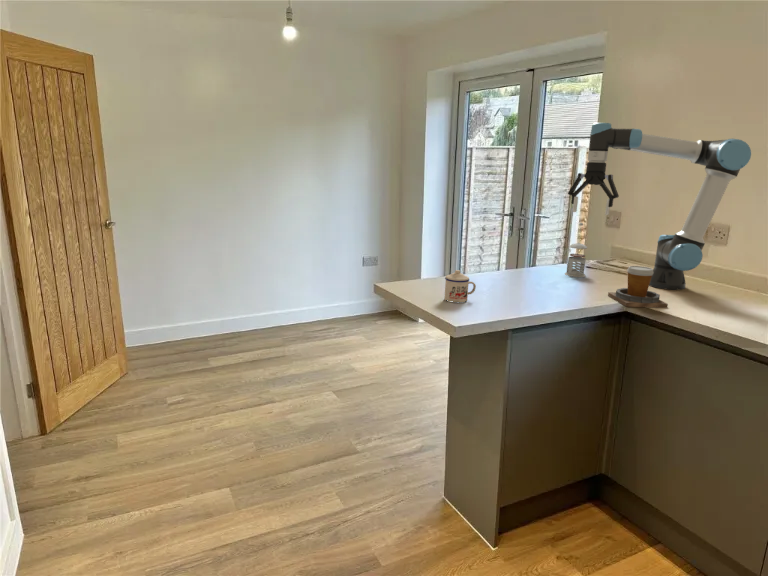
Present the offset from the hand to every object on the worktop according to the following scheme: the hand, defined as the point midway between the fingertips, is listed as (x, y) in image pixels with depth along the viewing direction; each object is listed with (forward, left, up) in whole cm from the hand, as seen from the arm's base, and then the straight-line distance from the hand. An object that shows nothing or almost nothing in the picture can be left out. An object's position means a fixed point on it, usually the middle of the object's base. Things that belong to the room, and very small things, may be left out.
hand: (590, 213), depth 227 cm
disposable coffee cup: (-12, +24, -30) cm, 41 cm away
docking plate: (-13, +24, -32) cm, 42 cm away
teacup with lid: (+58, +30, -32) cm, 73 cm away
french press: (-5, -24, -32) cm, 40 cm away
